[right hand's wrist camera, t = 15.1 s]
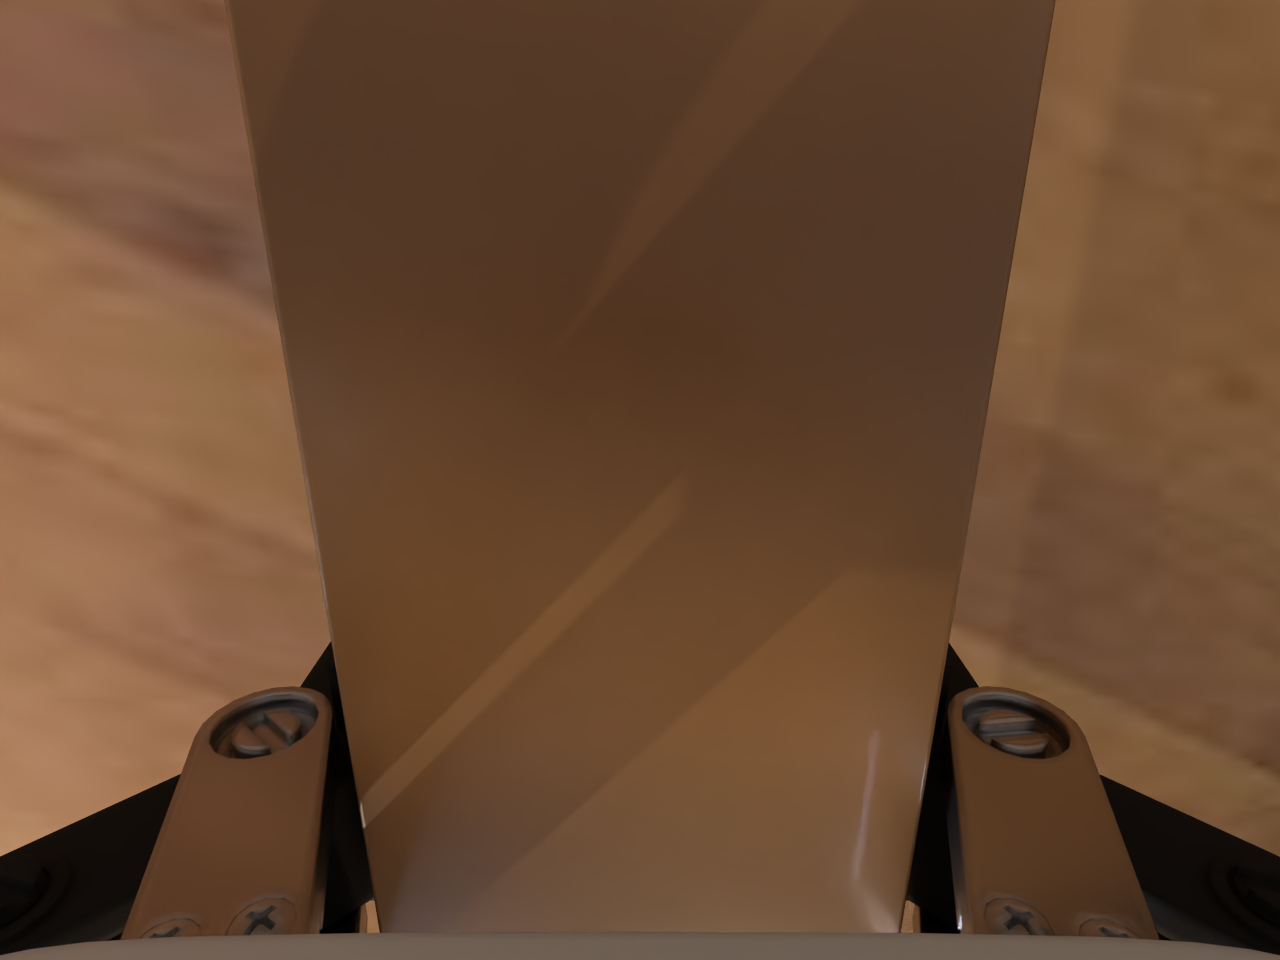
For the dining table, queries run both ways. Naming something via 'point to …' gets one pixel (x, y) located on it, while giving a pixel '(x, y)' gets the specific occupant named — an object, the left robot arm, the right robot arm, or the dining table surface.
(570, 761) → the post
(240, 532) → the dining table surface
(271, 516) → the dining table surface
